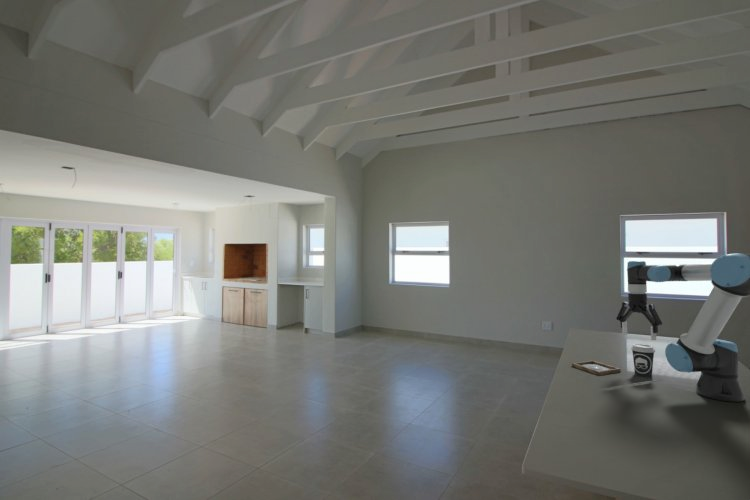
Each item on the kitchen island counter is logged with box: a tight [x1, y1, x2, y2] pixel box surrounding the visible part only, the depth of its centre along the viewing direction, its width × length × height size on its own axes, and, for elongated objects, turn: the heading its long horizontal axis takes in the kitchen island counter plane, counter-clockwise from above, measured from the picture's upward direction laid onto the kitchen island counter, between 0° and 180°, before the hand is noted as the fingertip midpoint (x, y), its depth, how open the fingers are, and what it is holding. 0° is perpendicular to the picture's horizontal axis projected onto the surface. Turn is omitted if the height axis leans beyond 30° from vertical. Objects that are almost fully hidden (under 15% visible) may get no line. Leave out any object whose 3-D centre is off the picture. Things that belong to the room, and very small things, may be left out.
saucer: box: [582, 364, 610, 371], centre depth 198 cm, size 13×13×1 cm
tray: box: [571, 360, 622, 376], centre depth 198 cm, size 16×14×3 cm
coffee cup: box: [631, 343, 656, 378], centre depth 189 cm, size 10×10×15 cm
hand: (638, 337), depth 190 cm, fingers open, 13 cm apart
